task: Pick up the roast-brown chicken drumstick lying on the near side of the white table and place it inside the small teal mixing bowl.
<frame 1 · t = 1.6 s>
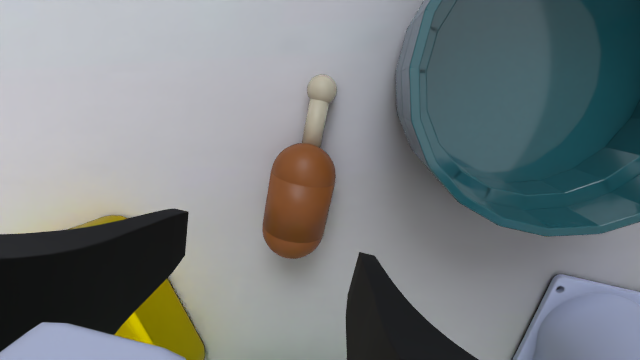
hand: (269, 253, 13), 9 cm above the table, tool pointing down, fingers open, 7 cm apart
teal mixing bowl: (524, 78, 18), on the table
drumstick: (303, 192, 22), on the table
element tile: (104, 308, 27), on the table
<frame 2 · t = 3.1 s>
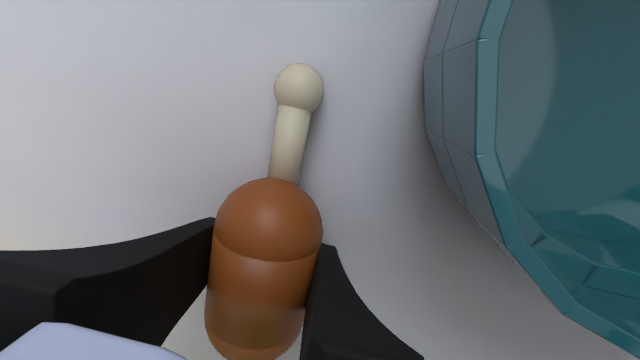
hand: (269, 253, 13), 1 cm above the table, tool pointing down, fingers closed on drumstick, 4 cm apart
drumstick: (274, 247, 14), on the table, touching gripper
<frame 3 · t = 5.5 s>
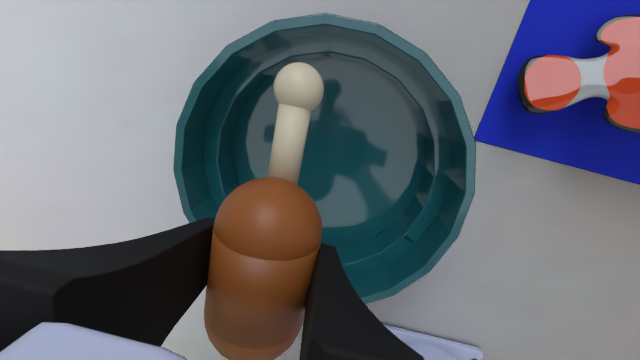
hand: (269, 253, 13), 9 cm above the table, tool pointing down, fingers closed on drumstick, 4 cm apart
teal mixing bowl: (326, 158, 21), on the table
drumstick: (274, 246, 14), point 8 cm above the table, touching gripper
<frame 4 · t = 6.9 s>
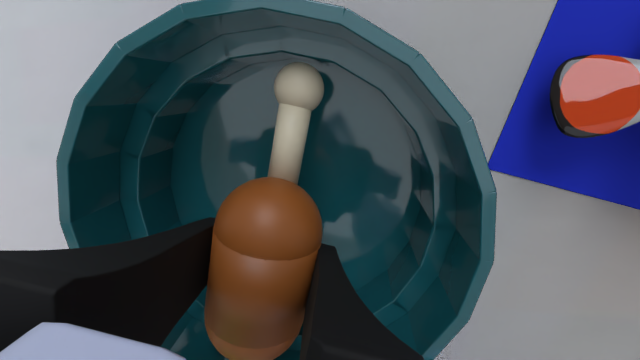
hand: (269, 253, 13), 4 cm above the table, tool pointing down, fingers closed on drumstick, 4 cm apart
teal mixing bowl: (293, 190, 16), on the table
drumstick: (274, 246, 14), point 2 cm above the table, touching gripper
when the fingers open (2 cm above the table, at t = 7.9 s): drumstick stays where it is, resting on teal mixing bowl.
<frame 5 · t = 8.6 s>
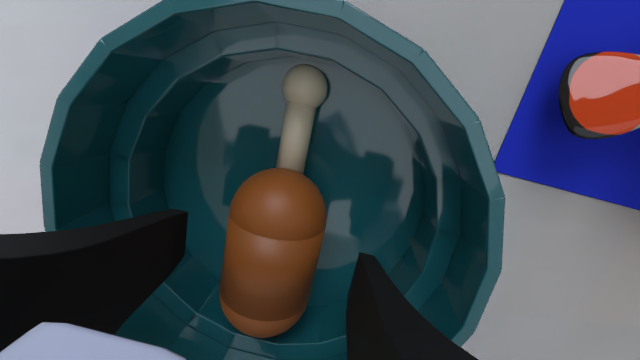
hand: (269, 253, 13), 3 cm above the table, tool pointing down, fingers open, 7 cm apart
teal mixing bowl: (290, 193, 15), on the table
drumstick: (280, 232, 15), point 1 cm above the table, touching teal mixing bowl
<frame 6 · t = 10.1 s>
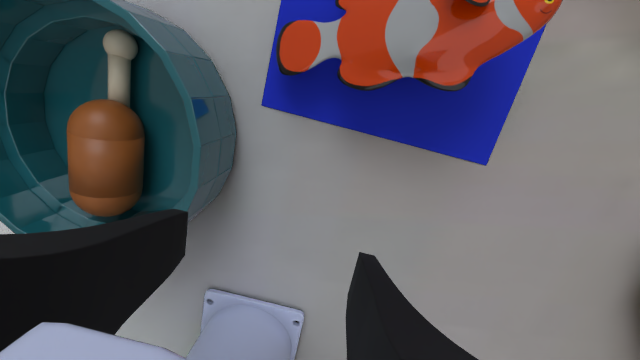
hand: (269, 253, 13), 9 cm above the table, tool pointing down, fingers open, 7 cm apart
teal mixing bowl: (134, 125, 22), on the table
drumstick: (128, 153, 22), point 1 cm above the table, touching teal mixing bowl
fish: (405, 25, 18), on the table
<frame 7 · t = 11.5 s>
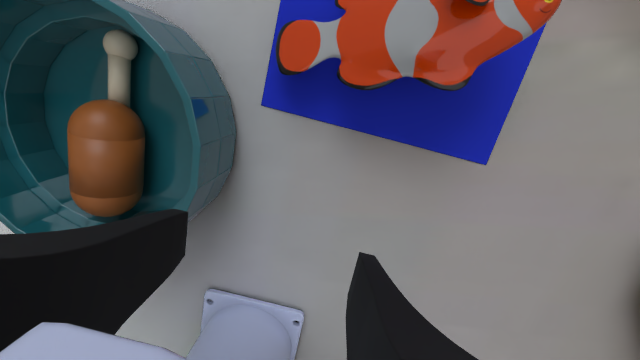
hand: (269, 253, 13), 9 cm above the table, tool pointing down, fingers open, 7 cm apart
teal mixing bowl: (134, 125, 22), on the table
drumstick: (128, 153, 22), point 1 cm above the table, touching teal mixing bowl
fish: (405, 24, 18), on the table
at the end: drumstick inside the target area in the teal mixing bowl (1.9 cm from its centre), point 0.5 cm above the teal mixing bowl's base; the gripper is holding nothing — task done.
